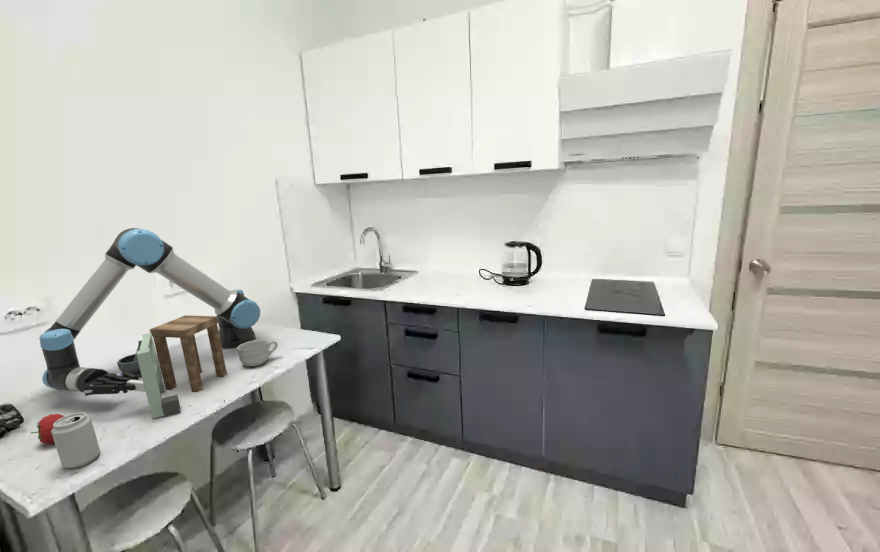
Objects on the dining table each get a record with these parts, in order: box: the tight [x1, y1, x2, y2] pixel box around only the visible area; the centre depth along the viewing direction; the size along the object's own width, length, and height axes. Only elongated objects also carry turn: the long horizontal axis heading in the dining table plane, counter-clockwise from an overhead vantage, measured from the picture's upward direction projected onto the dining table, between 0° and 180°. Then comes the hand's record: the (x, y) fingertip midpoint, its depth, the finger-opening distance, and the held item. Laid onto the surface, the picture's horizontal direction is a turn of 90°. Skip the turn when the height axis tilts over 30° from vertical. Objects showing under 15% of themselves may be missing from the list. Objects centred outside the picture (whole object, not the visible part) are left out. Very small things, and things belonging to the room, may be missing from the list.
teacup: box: [236, 339, 278, 367], centre depth 157 cm, size 14×11×8 cm
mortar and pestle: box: [116, 340, 142, 379], centre depth 152 cm, size 11×9×12 cm
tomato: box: [30, 413, 66, 445], centre depth 113 cm, size 8×8×8 cm
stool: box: [149, 315, 228, 393], centre depth 142 cm, size 14×14×22 cm
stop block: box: [161, 393, 181, 418], centre depth 125 cm, size 4×4×4 cm
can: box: [51, 412, 101, 469], centre depth 103 cm, size 8×8×12 cm
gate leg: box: [135, 333, 166, 419], centre depth 128 cm, size 20×3×21 cm, turn 32°
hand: (146, 386), depth 123 cm, fingers closed
